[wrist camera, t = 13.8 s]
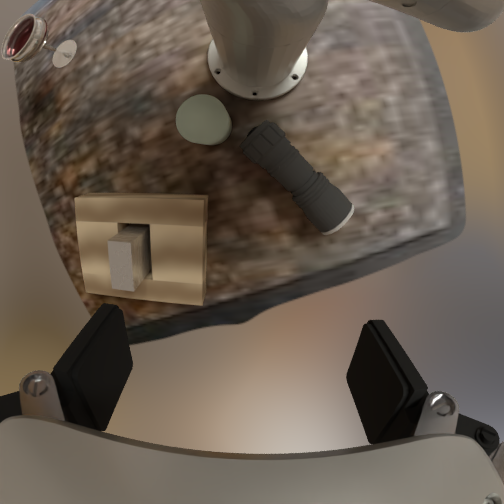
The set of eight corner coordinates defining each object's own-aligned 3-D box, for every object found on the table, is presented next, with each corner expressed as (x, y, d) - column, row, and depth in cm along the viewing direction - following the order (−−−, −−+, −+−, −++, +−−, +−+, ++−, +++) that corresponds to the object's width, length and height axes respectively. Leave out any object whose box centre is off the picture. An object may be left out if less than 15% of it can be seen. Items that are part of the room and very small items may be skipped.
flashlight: (235, 147, 34) (233, 146, 29) (265, 117, 33) (268, 112, 28) (317, 228, 38) (328, 240, 33) (345, 201, 37) (360, 209, 32)
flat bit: (135, 220, 37) (107, 240, 29) (155, 222, 37) (130, 242, 29) (136, 260, 39) (112, 288, 31) (155, 262, 39) (134, 291, 31)
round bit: (194, 107, 32) (177, 94, 24) (233, 108, 32) (228, 94, 24) (191, 144, 34) (174, 143, 26) (230, 146, 34) (225, 144, 26)
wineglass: (44, 74, 28) (-5, 64, 17) (55, 38, 26) (11, 20, 15) (74, 71, 29) (25, 55, 18) (86, 32, 27) (43, 8, 15)
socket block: (88, 193, 36) (74, 198, 32) (208, 195, 36) (203, 200, 32) (97, 280, 40) (86, 292, 37) (206, 291, 41) (202, 305, 37)
